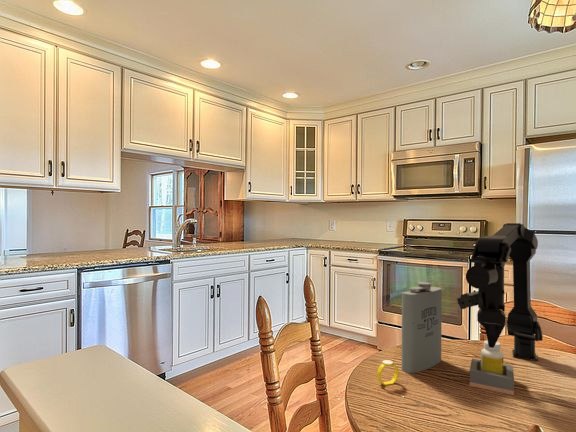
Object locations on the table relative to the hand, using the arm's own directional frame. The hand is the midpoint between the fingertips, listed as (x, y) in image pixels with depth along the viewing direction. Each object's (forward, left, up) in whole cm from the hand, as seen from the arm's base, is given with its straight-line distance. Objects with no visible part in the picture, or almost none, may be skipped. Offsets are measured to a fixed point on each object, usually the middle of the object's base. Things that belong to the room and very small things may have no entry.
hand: (491, 342), depth 98 cm
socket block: (0, 0, -11) cm, 11 cm away
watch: (+15, -24, -11) cm, 30 cm away
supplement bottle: (0, 0, -10) cm, 10 cm away
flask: (-3, -18, -11) cm, 21 cm away
